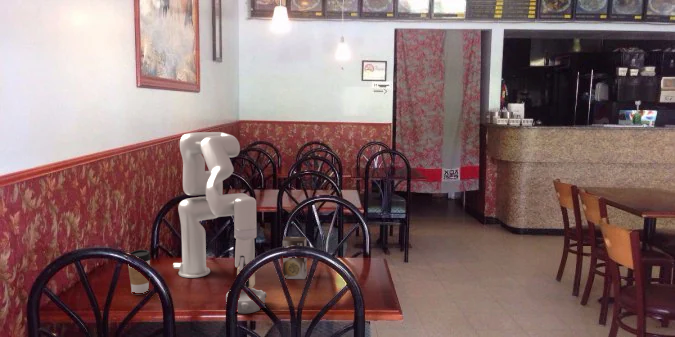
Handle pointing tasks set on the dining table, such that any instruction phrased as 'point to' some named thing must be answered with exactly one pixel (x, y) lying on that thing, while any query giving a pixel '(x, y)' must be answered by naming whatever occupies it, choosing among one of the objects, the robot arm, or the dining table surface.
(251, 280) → the maple block
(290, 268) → the coffee box
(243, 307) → the dish
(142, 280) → the coffee cup
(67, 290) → the dining table surface
